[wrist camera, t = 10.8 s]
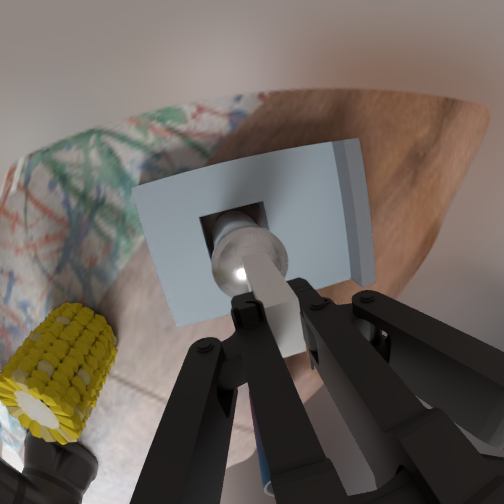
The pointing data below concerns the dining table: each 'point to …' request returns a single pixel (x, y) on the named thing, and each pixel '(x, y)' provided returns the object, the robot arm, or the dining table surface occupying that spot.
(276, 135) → the dining table surface
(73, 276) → the dining table surface
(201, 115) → the dining table surface
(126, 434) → the dining table surface
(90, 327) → the food
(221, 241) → the silver metal cylinder
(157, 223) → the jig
